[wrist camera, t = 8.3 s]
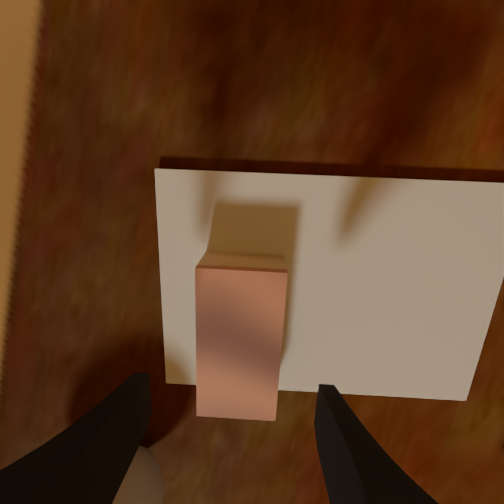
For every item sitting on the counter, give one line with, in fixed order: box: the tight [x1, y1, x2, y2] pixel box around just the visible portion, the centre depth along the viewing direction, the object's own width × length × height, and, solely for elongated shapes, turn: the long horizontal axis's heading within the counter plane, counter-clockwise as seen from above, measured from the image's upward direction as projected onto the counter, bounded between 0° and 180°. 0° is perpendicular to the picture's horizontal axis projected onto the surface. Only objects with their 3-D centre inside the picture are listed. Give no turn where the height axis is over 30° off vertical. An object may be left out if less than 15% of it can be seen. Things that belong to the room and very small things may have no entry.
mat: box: [155, 169, 504, 401], centre depth 18 cm, size 20×14×1 cm
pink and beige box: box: [195, 251, 288, 421], centre depth 17 cm, size 9×4×3 cm, turn 178°
